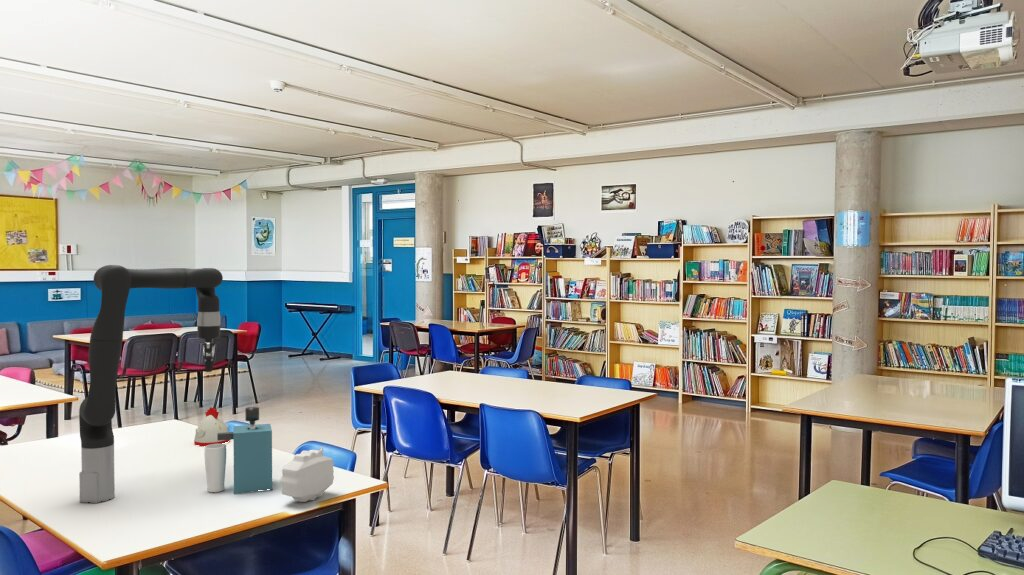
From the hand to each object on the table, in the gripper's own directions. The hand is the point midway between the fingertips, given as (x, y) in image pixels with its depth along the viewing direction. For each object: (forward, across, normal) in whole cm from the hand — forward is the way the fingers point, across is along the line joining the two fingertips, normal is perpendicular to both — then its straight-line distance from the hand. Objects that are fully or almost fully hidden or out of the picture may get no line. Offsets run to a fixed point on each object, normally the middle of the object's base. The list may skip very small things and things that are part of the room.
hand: (209, 370), depth 265 cm
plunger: (+26, -18, -14) cm, 35 cm away
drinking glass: (+38, -19, -3) cm, 43 cm away
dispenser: (+38, -19, -12) cm, 44 cm away
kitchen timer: (+38, +56, +1) cm, 68 cm away
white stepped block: (+38, -38, -30) cm, 62 cm away
